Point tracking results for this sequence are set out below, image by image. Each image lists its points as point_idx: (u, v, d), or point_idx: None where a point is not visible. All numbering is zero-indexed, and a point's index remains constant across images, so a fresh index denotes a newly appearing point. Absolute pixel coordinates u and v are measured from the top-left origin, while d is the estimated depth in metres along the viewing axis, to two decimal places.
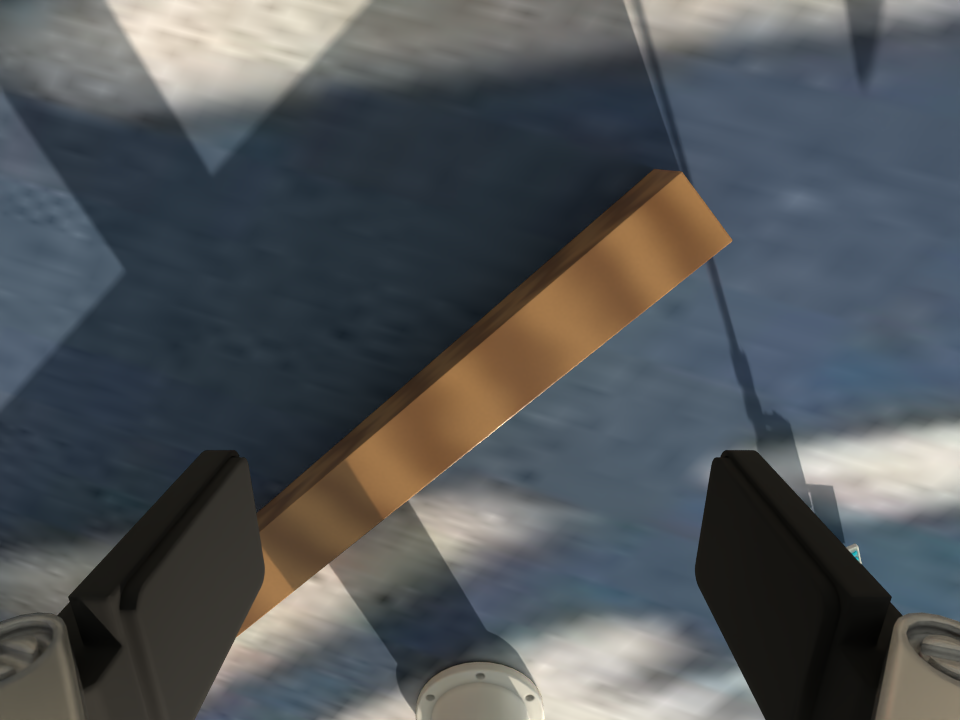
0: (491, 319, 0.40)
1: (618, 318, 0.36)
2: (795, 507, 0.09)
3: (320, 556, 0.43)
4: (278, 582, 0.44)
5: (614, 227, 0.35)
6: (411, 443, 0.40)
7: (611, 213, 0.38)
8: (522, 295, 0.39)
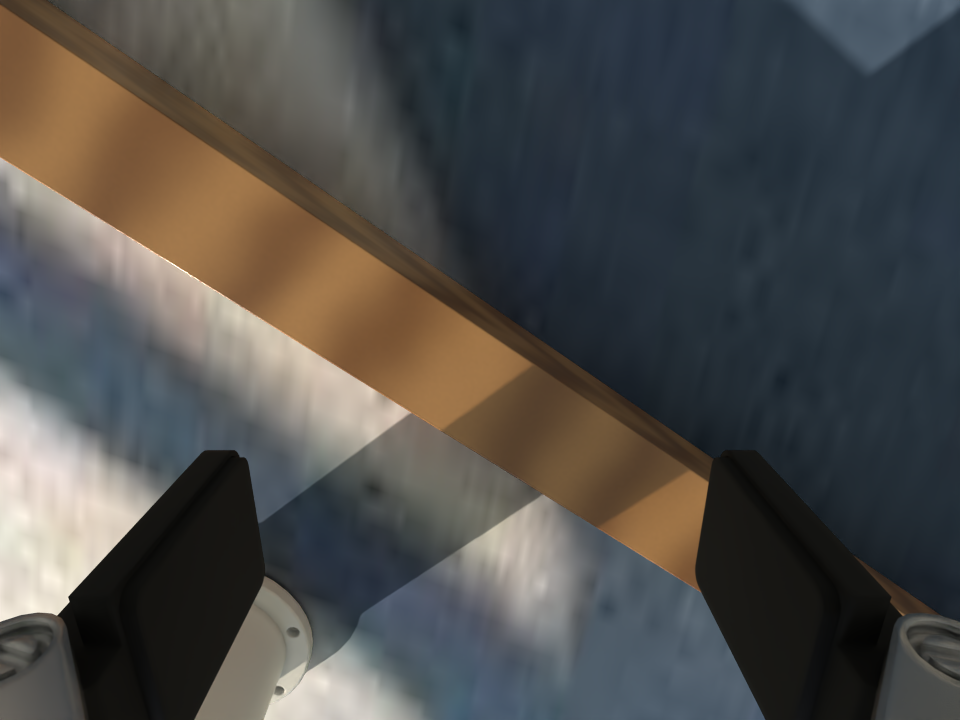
0: None
1: None
2: (795, 507, 0.09)
3: (516, 458, 0.28)
4: (452, 406, 0.27)
5: None
6: None
7: None
8: None
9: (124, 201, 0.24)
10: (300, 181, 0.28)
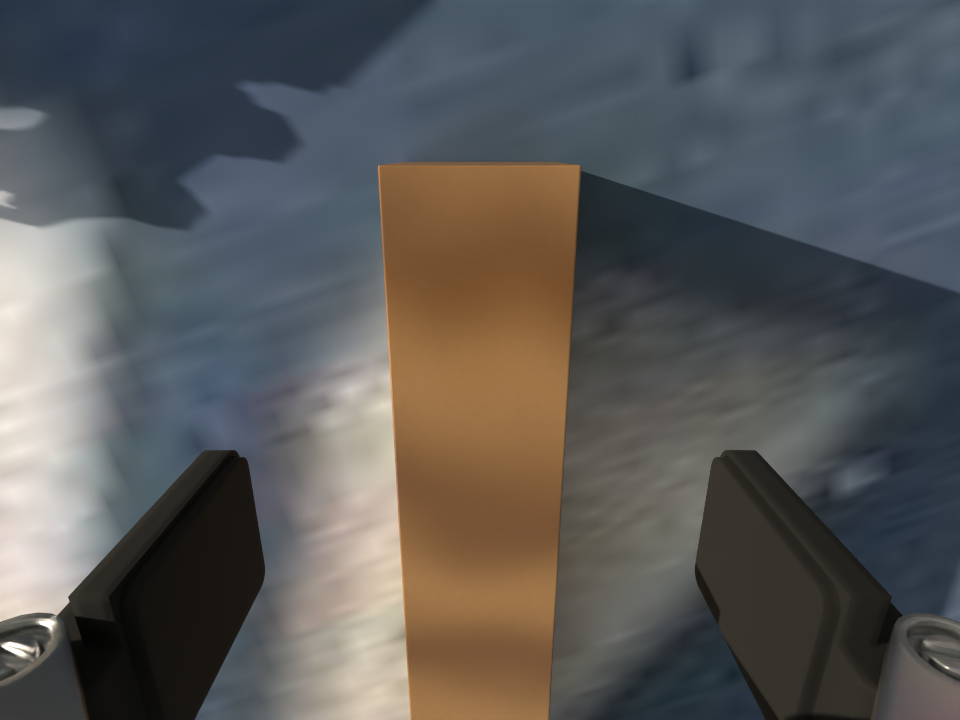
0: None
1: None
2: (795, 507, 0.09)
3: None
4: None
5: None
6: None
7: None
8: None
9: (442, 663, 0.21)
10: None
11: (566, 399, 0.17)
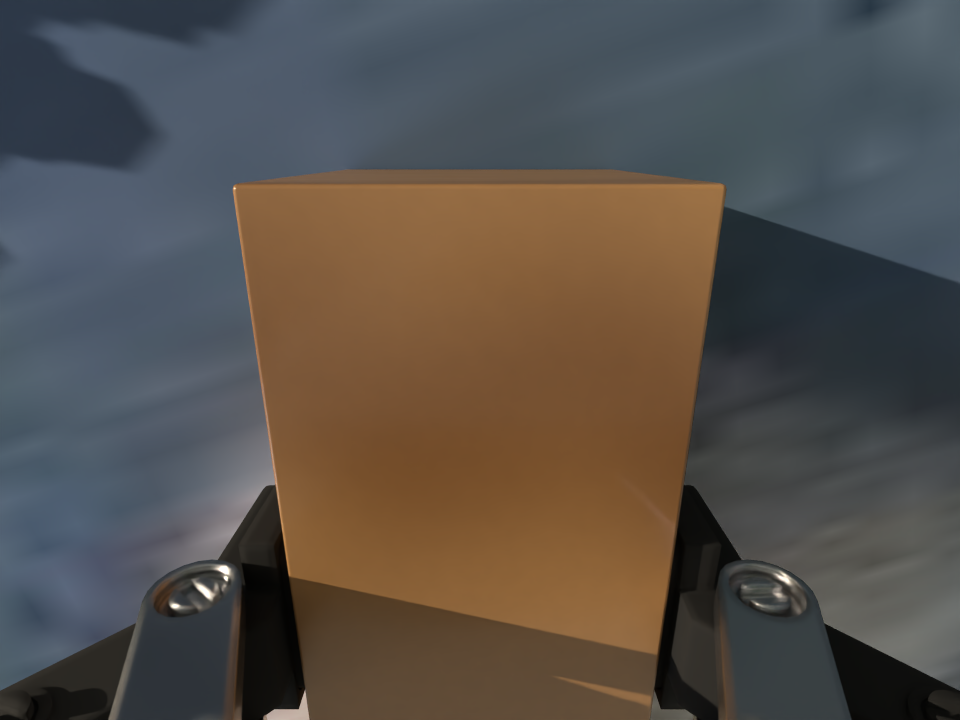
0: None
1: None
2: None
3: None
4: None
5: None
6: None
7: None
8: None
9: None
10: None
11: (657, 658, 0.09)
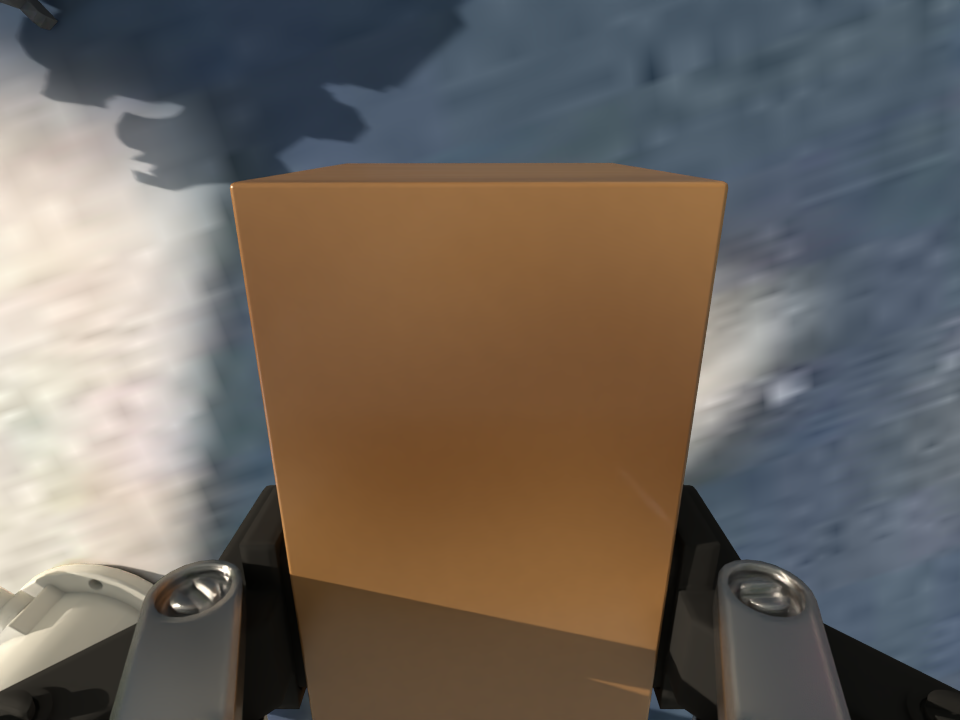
0: None
1: None
2: None
3: None
4: None
5: None
6: None
7: None
8: None
9: None
10: None
11: (656, 652, 0.09)
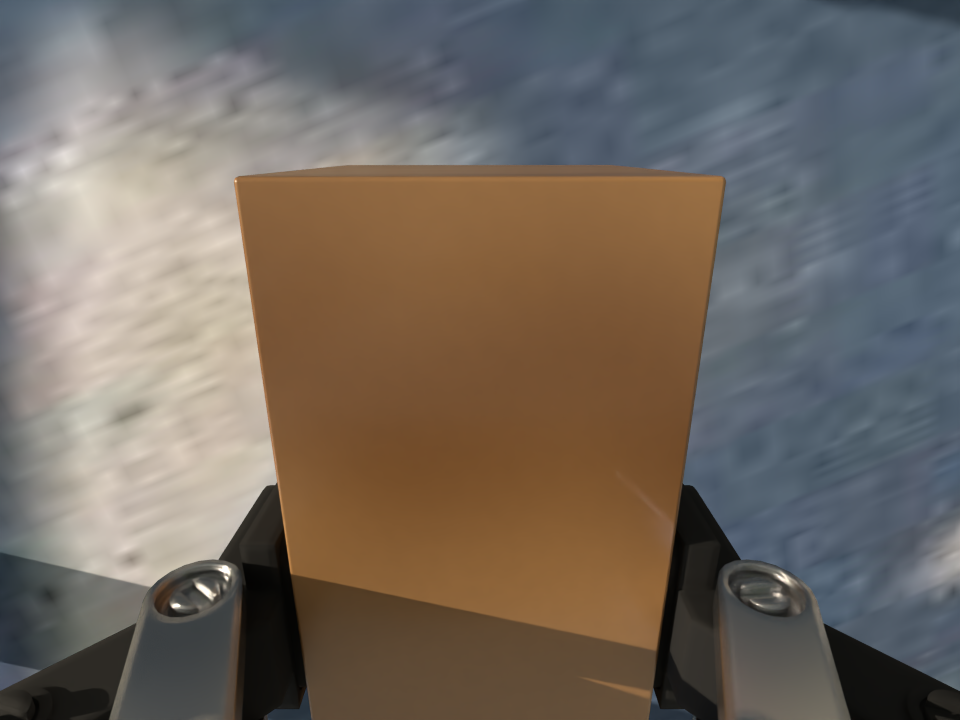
0: None
1: None
2: None
3: None
4: None
5: None
6: None
7: None
8: None
9: None
10: None
11: (657, 650, 0.09)
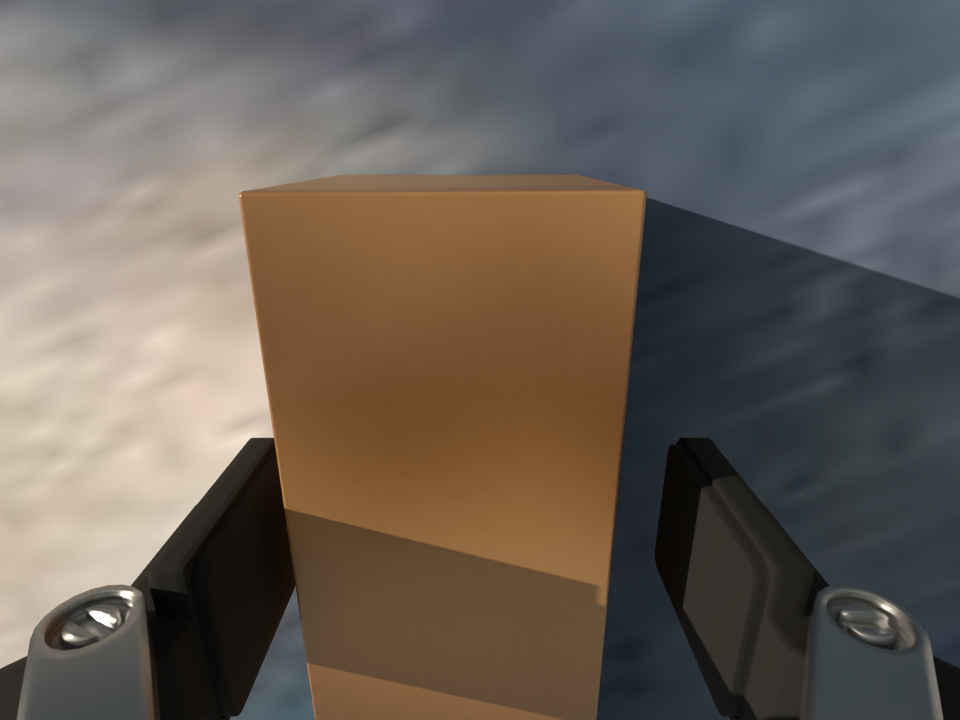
0: None
1: None
2: (738, 489, 0.09)
3: None
4: None
5: None
6: None
7: None
8: None
9: None
10: None
11: (606, 599, 0.10)
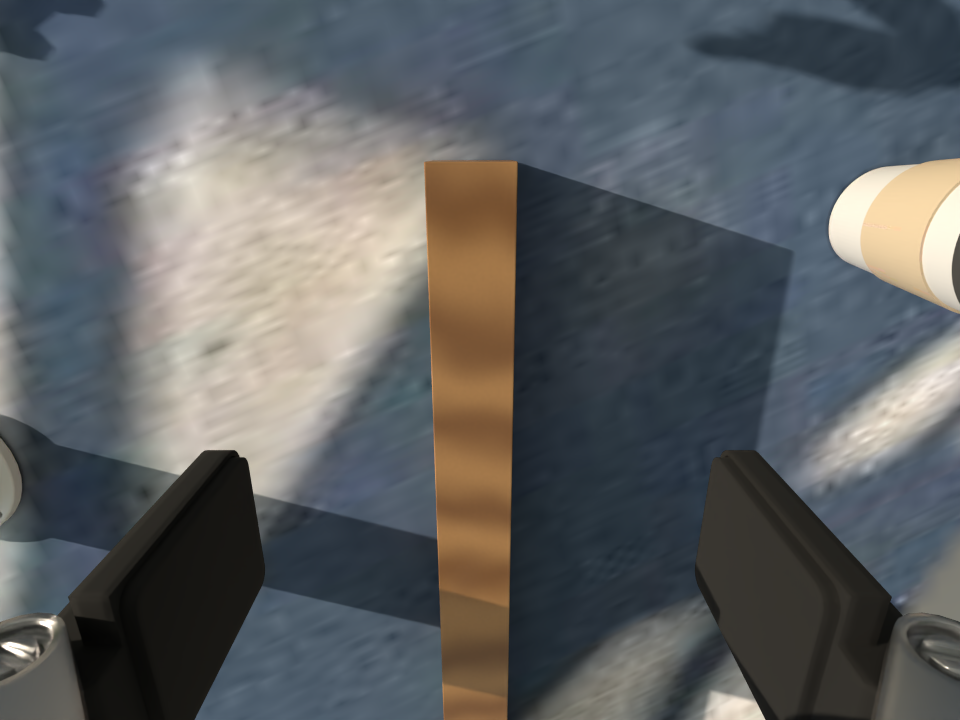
0: None
1: None
2: (795, 507, 0.09)
3: (453, 661, 0.46)
4: (458, 621, 0.45)
5: None
6: None
7: None
8: None
9: (453, 432, 0.39)
10: None
11: (514, 277, 0.35)
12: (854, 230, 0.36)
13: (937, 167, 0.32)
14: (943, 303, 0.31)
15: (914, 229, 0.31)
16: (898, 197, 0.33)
